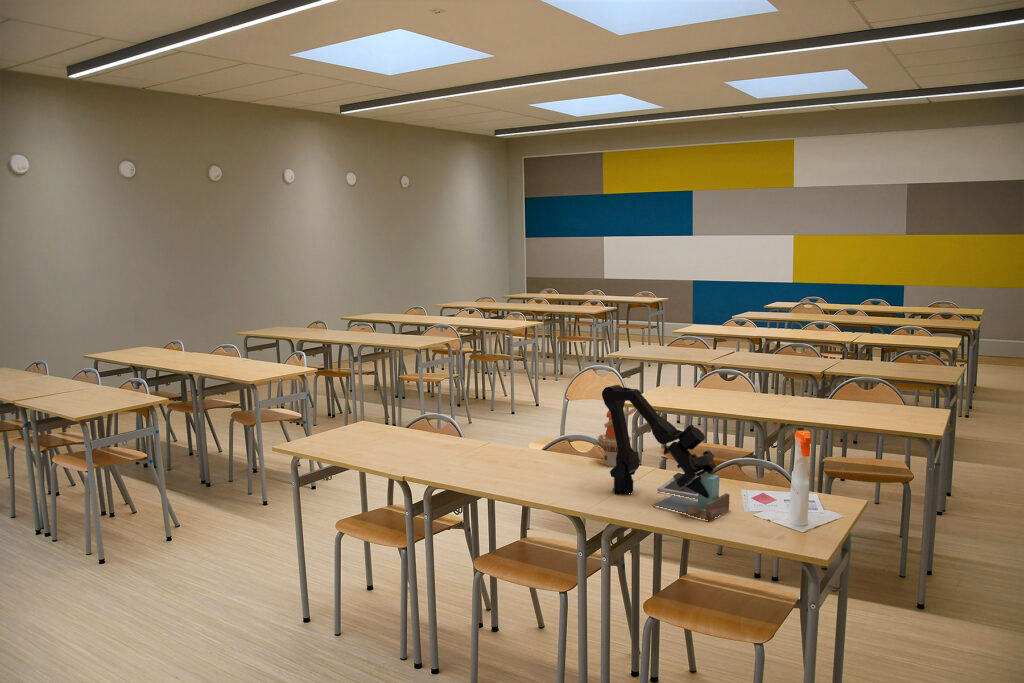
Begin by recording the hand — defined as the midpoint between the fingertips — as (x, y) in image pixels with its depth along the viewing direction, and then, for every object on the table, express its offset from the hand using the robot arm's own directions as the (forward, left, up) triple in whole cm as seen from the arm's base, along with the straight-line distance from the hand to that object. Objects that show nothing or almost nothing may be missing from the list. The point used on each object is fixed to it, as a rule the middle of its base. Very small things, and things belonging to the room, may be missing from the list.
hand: (712, 495), depth 260 cm
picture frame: (-2, +28, -7) cm, 29 cm away
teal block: (-1, +1, -7) cm, 7 cm away
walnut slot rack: (-1, +1, -7) cm, 7 cm away
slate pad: (-9, +8, -7) cm, 14 cm away
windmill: (-27, +58, -7) cm, 64 cm away
